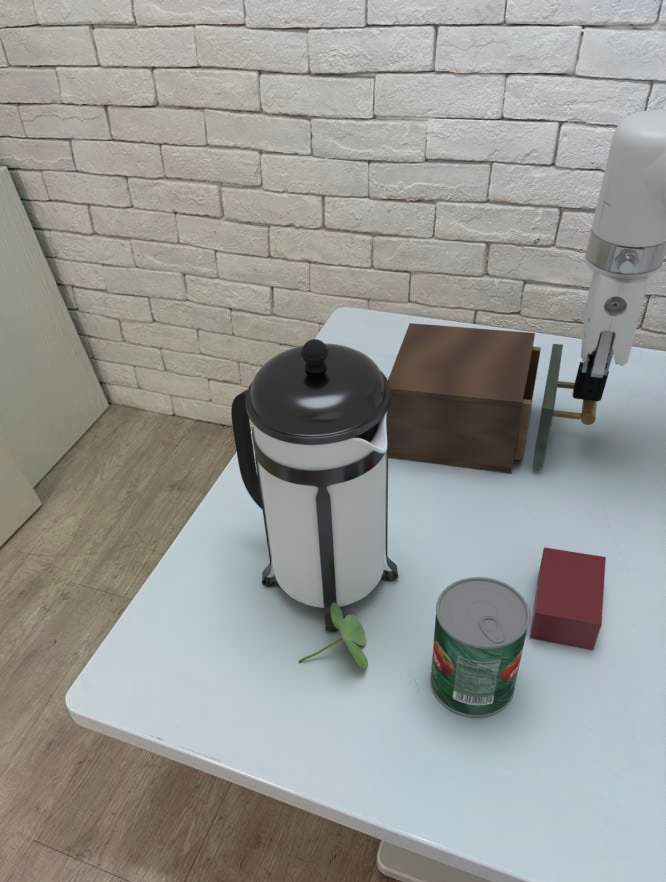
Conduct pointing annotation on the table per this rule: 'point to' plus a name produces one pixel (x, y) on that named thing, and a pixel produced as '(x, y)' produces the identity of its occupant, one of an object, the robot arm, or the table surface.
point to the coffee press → (319, 471)
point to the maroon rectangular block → (569, 598)
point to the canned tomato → (478, 645)
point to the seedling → (347, 635)
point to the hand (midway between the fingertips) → (586, 395)
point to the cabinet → (458, 396)
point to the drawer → (547, 405)
